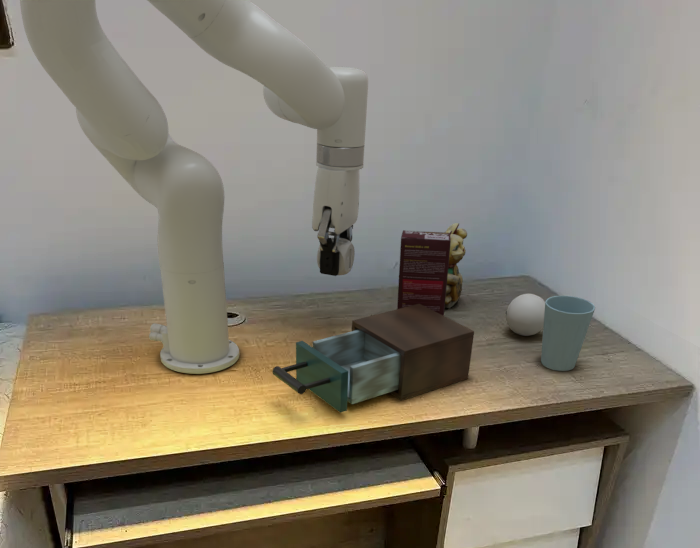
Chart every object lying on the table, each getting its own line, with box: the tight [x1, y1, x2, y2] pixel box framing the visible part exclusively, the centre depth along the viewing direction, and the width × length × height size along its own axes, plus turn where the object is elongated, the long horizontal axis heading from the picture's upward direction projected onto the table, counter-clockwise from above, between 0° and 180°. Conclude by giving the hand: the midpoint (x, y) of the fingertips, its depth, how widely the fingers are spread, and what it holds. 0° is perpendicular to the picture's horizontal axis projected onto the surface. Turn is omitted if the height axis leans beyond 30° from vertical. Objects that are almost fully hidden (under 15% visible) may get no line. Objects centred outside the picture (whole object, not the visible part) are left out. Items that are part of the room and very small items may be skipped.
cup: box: [540, 295, 596, 372], centre depth 119 cm, size 8×8×10 cm
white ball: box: [501, 293, 545, 337], centre depth 131 cm, size 10×7×7 cm
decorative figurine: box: [443, 222, 468, 309], centre depth 139 cm, size 10×8×15 cm
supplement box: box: [396, 229, 451, 316], centre depth 131 cm, size 9×5×16 cm, turn 84°
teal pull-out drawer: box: [272, 329, 401, 414], centre depth 108 cm, size 18×12×6 cm, turn 125°
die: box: [316, 237, 356, 276], centre depth 125 cm, size 5×5×5 cm
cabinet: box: [351, 304, 475, 401], centre depth 115 cm, size 14×13×8 cm
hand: (335, 268), depth 126 cm, fingers closed on die, 5 cm apart
